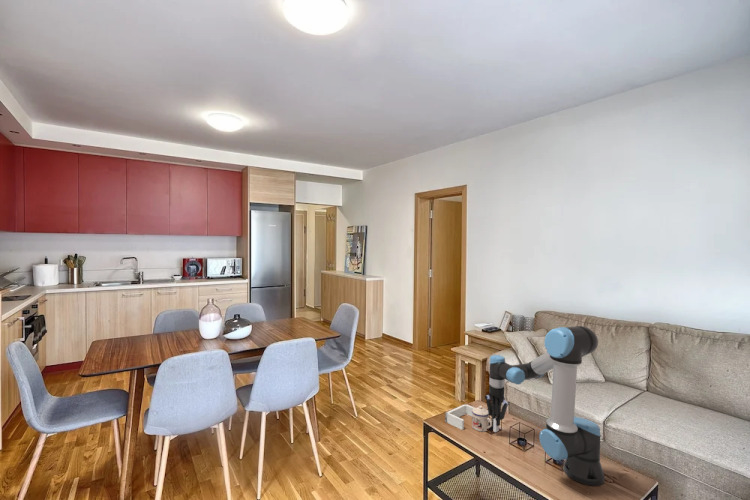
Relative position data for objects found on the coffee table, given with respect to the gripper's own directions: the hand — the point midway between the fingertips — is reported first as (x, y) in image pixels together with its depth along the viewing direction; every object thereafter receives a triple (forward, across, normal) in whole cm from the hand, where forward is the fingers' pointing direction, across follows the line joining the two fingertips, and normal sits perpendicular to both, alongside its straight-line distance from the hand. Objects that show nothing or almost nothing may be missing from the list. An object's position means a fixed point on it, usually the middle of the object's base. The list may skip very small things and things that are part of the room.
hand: (495, 430), depth 186 cm
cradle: (+2, +20, 0) cm, 20 cm away
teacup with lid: (+2, +8, 0) cm, 8 cm away
